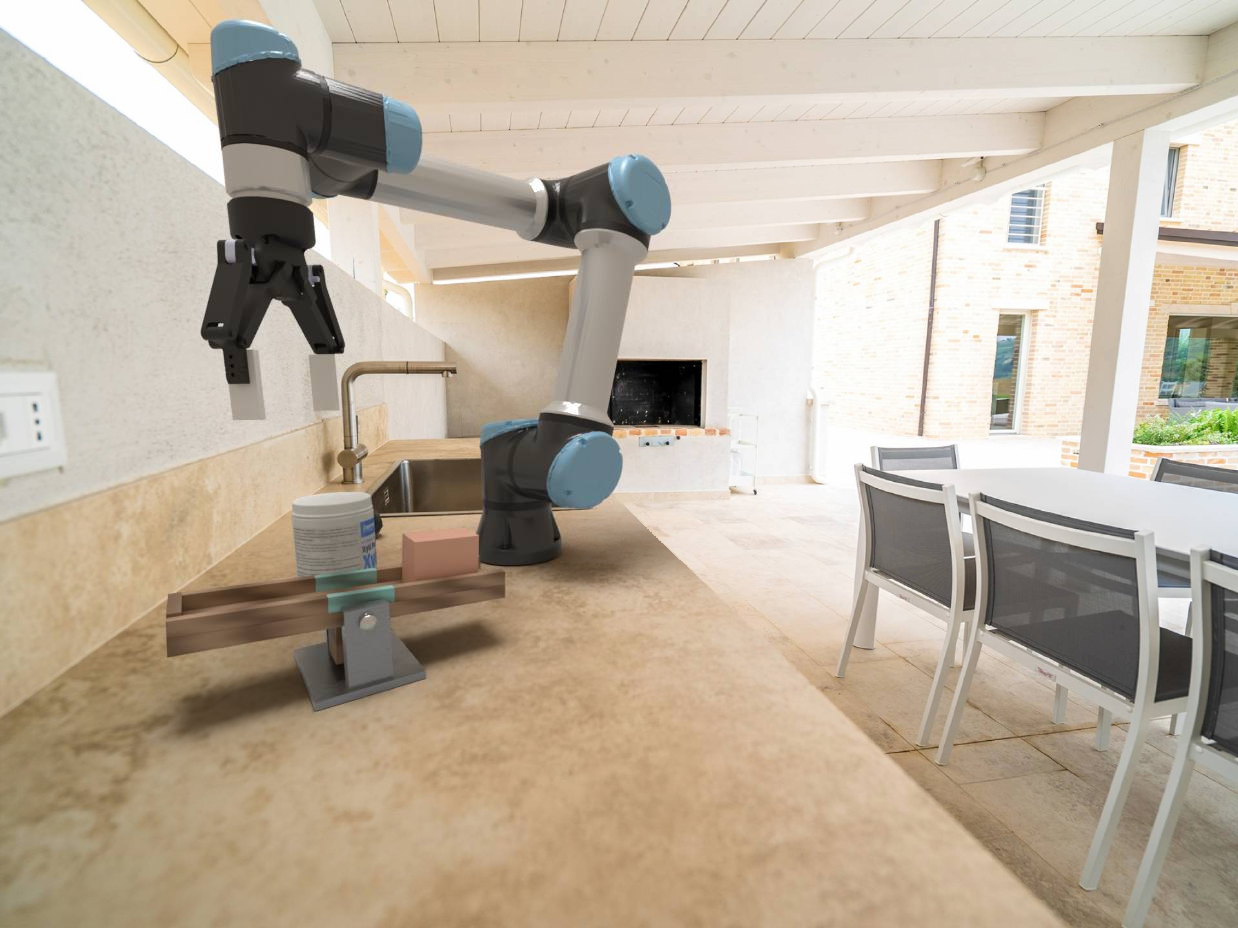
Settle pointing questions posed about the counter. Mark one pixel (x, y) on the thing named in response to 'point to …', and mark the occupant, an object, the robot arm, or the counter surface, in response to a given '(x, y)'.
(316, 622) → the beam
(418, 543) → the block
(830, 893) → the counter surface
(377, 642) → the stand
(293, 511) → the supplement tub
